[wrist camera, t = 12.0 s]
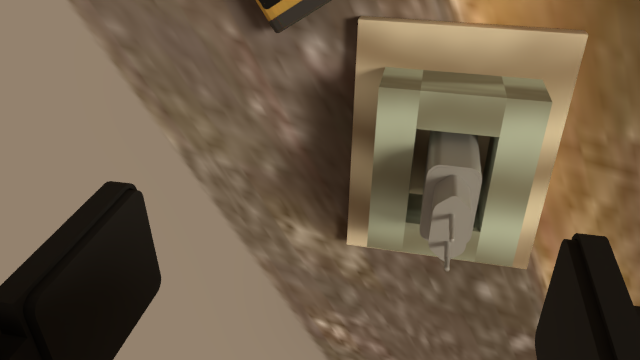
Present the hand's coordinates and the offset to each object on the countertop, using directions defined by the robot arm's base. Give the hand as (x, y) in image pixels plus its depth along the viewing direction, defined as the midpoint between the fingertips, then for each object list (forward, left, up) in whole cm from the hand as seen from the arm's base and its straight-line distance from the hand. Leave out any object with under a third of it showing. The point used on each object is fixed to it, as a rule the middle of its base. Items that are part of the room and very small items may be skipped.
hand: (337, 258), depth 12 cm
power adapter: (+10, +4, -26) cm, 28 cm away
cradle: (+10, +4, -27) cm, 29 cm away
